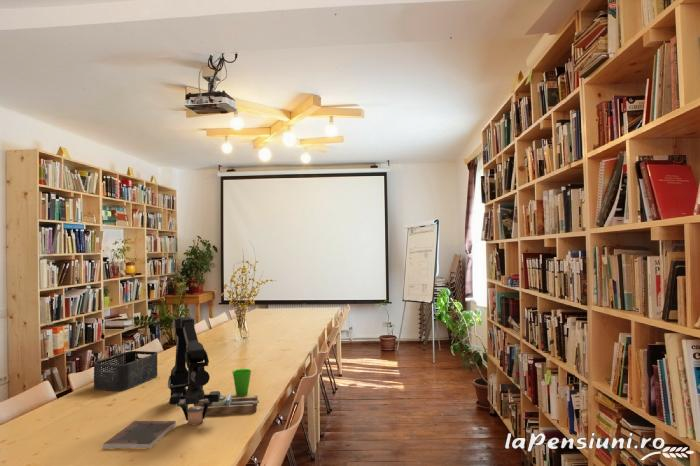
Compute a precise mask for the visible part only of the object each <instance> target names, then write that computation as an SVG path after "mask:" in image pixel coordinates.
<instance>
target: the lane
mask: <svg viewBox="0 0 700 466" xmlns="http://www.w3.org/2000/svg"><path fill="white" fill-rule="evenodd" d="M227 398H228V397H227ZM227 398H226V400H227ZM242 401H254V402H253V403H250V404H232V406H214V407H212V404H209V406H208V408H207V411H206V414H205V416H215V415H214V414H219V415H231V414H230V413H235V414H246V413H247V414H248V413H249V412H252V413H255V412H257V407H258V404H259V403H257V401H259V400H258V395H254V396H245V397H244V396H240V397H232V402H242ZM204 402H205V400H199V403H198V404H193V407H194V406H201V407H203V408H204ZM249 414H250V413H249Z"/></svg>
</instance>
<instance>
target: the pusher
mask: <svg viewBox="0 0 700 466" xmlns="http://www.w3.org/2000/svg"><path fill="white" fill-rule="evenodd" d="M232 398H233V395H232V393H230V394H228V396H227V400H226V406H232V404H250V403H253V402H254V401H242V402H232ZM257 403H258V404H259V403H260V400H258V401H257Z"/></svg>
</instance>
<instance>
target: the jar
mask: <svg viewBox="0 0 700 466" xmlns="http://www.w3.org/2000/svg"><path fill="white" fill-rule="evenodd" d="M201 422H202V423H203V422H204V419H203V407H201V406H194V405H193V406H191V407H188V420H187V424H188V425H189V424H197V425H200V424H199V423H201ZM202 423H201V424H202Z"/></svg>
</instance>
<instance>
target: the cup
mask: <svg viewBox="0 0 700 466" xmlns="http://www.w3.org/2000/svg"><path fill="white" fill-rule="evenodd" d="M251 373H252V370H251V369H249V368H239V369H235V370H232V373H231V374H232V375H233V382H234V388H235V395H236V396H237V397H244V396H245V397H246V396H247V395H248V394H249V393H248V392H249V387H250V380H251V379H250V378H251Z"/></svg>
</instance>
